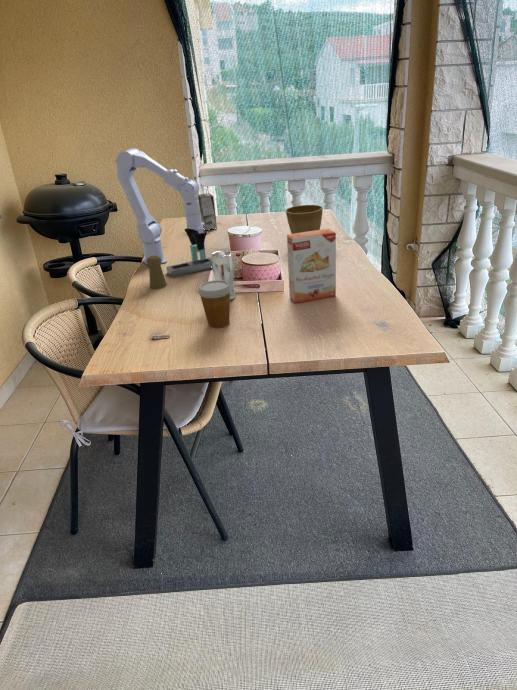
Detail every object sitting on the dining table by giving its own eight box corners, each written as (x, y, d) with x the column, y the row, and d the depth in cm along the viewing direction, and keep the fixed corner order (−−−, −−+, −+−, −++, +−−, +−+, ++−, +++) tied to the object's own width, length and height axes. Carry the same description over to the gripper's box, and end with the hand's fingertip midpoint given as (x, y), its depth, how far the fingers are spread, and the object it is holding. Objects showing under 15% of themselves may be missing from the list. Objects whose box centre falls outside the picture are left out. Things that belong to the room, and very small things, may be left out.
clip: (192, 262, 209) (189, 245, 206) (204, 259, 211) (202, 243, 208) (194, 264, 207) (192, 246, 204) (206, 261, 209) (204, 244, 206)
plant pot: (323, 241, 221) (322, 203, 214) (323, 251, 208) (322, 211, 201) (288, 243, 223) (286, 205, 216) (286, 253, 210) (284, 213, 202)
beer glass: (240, 294, 174) (235, 250, 167) (232, 302, 168) (227, 257, 161) (221, 293, 176) (215, 250, 169) (212, 300, 170) (207, 256, 163)
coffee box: (217, 229, 254) (213, 195, 247) (205, 231, 253) (200, 197, 245) (213, 225, 262) (209, 192, 255) (201, 227, 261) (196, 194, 253)
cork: (163, 288, 184) (158, 259, 179) (147, 289, 185) (141, 259, 180) (169, 282, 189) (164, 253, 184) (153, 283, 191) (148, 254, 186)
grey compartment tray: (167, 273, 200) (166, 266, 199) (210, 263, 206) (210, 257, 205) (172, 277, 195) (170, 270, 194) (216, 267, 201) (215, 261, 200)
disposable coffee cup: (218, 314, 159) (213, 277, 154) (241, 321, 154) (237, 282, 148) (196, 326, 153) (190, 288, 148) (219, 333, 147) (214, 293, 142)
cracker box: (295, 304, 162) (292, 238, 153) (289, 297, 167) (285, 233, 158) (337, 296, 165) (336, 231, 155) (329, 290, 170) (328, 227, 161)
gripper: (209, 214, 196) (213, 249, 202) (196, 208, 208) (200, 241, 214) (191, 218, 193) (196, 253, 199) (179, 211, 205) (184, 245, 211)
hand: (197, 247), depth 206 cm, fingers open, 7 cm apart
